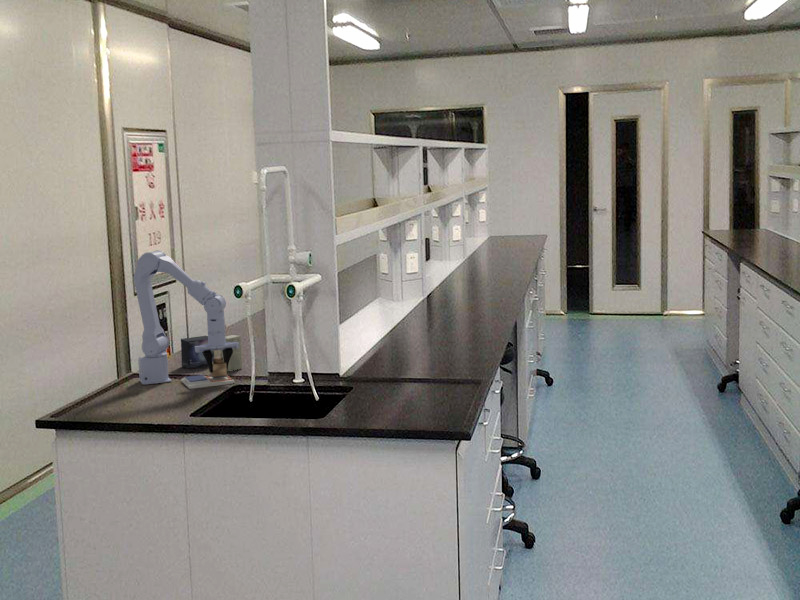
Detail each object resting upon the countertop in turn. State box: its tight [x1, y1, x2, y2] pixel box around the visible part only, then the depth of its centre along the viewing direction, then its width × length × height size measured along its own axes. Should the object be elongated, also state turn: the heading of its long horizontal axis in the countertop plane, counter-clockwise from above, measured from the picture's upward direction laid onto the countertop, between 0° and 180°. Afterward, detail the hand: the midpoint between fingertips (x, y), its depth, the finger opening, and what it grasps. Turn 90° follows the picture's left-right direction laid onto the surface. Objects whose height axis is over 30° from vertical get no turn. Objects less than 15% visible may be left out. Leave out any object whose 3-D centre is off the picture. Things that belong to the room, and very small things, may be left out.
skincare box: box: [220, 334, 243, 372], centre depth 306 cm, size 6×4×12 cm
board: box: [181, 374, 236, 390], centre depth 287 cm, size 15×12×2 cm
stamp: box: [210, 356, 228, 378], centre depth 288 cm, size 4×4×6 cm
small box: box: [180, 335, 215, 370], centre depth 314 cm, size 11×6×10 cm, turn 129°
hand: (218, 371), depth 288 cm, fingers closed on stamp, 4 cm apart
